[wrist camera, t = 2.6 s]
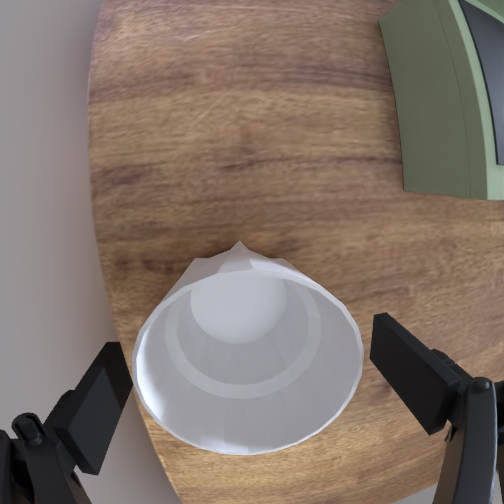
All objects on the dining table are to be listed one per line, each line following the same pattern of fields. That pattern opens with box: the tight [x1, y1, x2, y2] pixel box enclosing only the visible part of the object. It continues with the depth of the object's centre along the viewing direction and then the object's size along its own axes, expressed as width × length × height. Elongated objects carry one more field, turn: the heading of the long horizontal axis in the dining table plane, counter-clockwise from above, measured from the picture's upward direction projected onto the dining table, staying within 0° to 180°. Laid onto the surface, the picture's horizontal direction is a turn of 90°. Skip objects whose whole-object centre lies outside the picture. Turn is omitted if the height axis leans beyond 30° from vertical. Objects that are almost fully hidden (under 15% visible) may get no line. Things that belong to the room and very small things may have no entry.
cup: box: [132, 240, 364, 455], centre depth 16 cm, size 10×10×10 cm
